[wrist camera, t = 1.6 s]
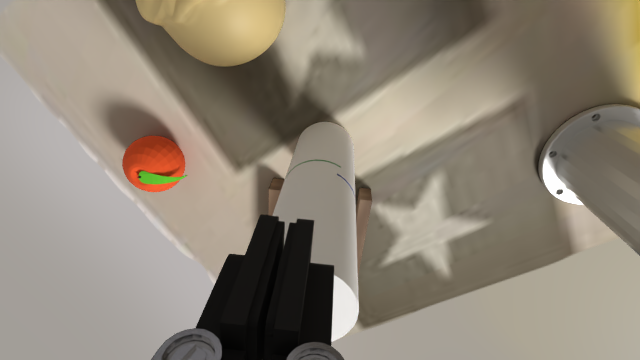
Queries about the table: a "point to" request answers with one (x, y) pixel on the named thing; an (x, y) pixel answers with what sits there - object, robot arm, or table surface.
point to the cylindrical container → (326, 211)
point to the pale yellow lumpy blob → (218, 26)
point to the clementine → (153, 163)
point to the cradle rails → (361, 212)
